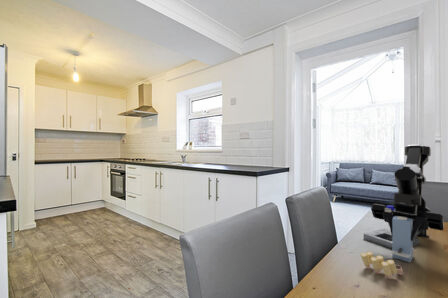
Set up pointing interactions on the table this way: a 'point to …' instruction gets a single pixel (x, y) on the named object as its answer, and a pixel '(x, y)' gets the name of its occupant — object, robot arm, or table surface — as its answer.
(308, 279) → the table surface
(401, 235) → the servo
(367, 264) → the ammunition
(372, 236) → the plate
